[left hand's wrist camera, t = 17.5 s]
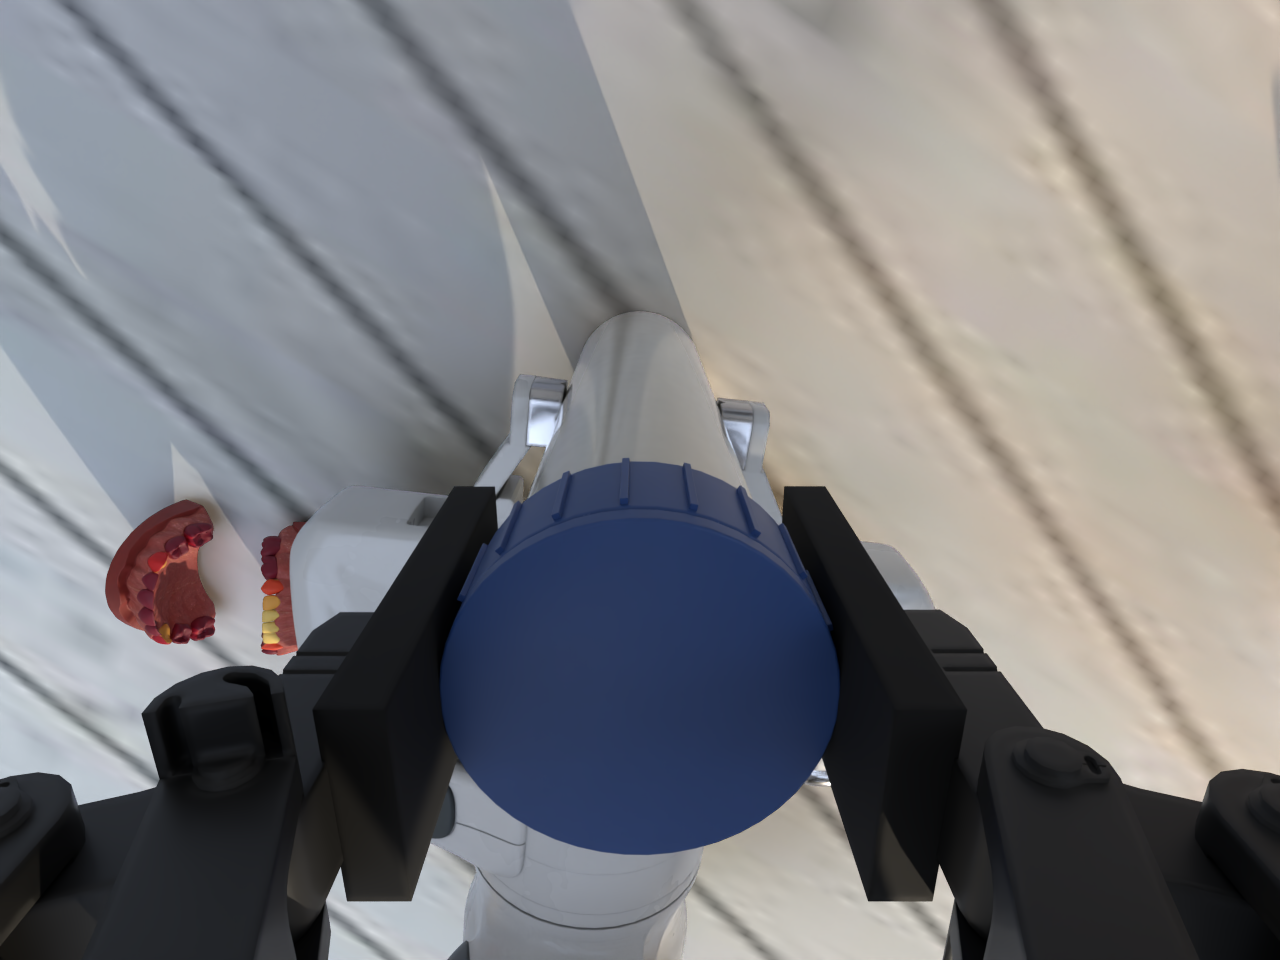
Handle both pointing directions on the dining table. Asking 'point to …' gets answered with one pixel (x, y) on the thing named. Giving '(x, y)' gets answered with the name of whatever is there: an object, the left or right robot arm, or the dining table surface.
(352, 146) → the dining table surface
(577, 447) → the white cylinder
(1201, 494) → the dining table surface
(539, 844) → the right robot arm
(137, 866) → the left robot arm
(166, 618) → the dental model
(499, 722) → the lid
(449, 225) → the dining table surface
